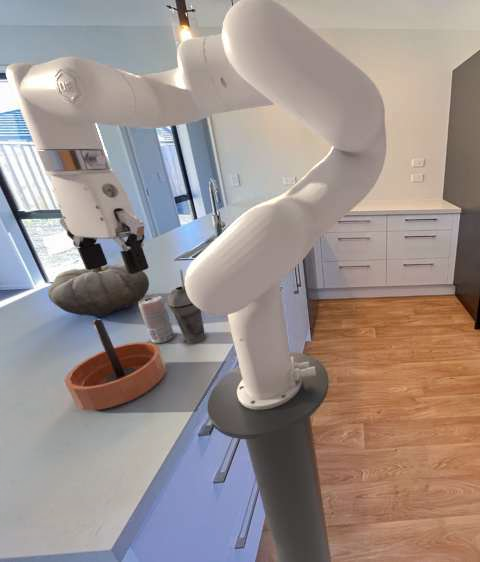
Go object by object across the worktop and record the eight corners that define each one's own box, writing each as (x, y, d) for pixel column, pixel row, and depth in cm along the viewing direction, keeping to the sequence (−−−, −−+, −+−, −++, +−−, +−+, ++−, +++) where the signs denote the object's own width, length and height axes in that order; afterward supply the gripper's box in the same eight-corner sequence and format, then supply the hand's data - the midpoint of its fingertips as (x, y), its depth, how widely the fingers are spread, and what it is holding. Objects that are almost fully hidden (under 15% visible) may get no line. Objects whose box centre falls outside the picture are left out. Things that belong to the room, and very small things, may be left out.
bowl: (176, 358, 75) (169, 337, 73) (149, 403, 61) (140, 380, 58) (103, 369, 71) (94, 348, 69) (57, 420, 57) (43, 396, 55)
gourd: (96, 324, 86) (71, 266, 82) (38, 329, 93) (12, 275, 88) (170, 295, 110) (154, 249, 105) (120, 301, 116) (102, 258, 112)
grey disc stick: (142, 372, 69) (118, 311, 63) (131, 388, 64) (104, 323, 58) (116, 376, 68) (89, 315, 61) (103, 393, 63) (72, 327, 57)
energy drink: (169, 331, 87) (157, 293, 82) (178, 336, 84) (165, 298, 79) (148, 339, 83) (134, 300, 78) (156, 346, 80) (142, 306, 75)
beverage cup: (176, 339, 83) (154, 272, 75) (204, 329, 87) (186, 264, 80) (185, 350, 78) (162, 279, 70) (214, 338, 83) (196, 270, 75)
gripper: (144, 162, 47) (175, 265, 53) (67, 164, 51) (104, 259, 58) (91, 163, 40) (133, 281, 47) (8, 165, 44) (57, 273, 51)
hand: (117, 269), depth 52 cm, fingers open, 9 cm apart
